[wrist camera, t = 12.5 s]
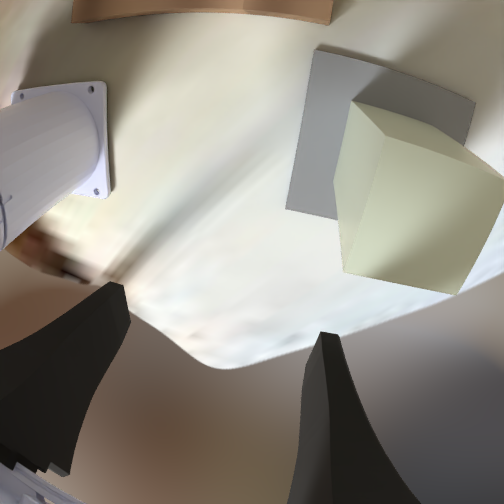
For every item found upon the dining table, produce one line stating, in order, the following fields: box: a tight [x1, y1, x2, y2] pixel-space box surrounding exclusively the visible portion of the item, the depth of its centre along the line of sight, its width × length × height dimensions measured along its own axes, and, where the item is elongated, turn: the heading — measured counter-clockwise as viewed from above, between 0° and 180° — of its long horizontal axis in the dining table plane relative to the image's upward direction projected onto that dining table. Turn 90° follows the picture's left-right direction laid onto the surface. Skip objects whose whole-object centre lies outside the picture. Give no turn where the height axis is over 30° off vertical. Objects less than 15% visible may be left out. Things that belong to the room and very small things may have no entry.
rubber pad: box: [285, 50, 476, 220], centre depth 15 cm, size 9×9×1 cm
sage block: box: [333, 101, 504, 295], centre depth 12 cm, size 4×4×8 cm
